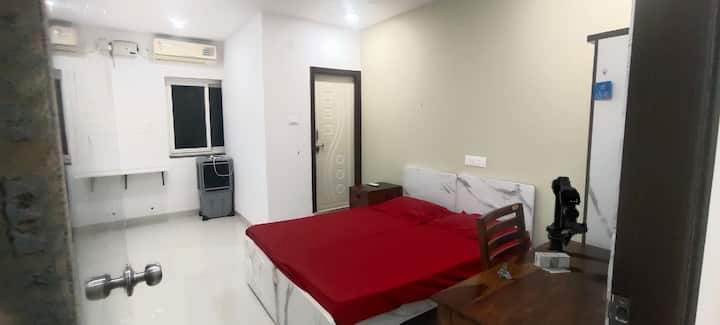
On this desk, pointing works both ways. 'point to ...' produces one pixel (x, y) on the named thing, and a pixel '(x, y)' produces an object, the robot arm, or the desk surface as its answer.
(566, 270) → the mat
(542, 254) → the syrup box
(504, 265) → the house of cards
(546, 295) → the desk surface
